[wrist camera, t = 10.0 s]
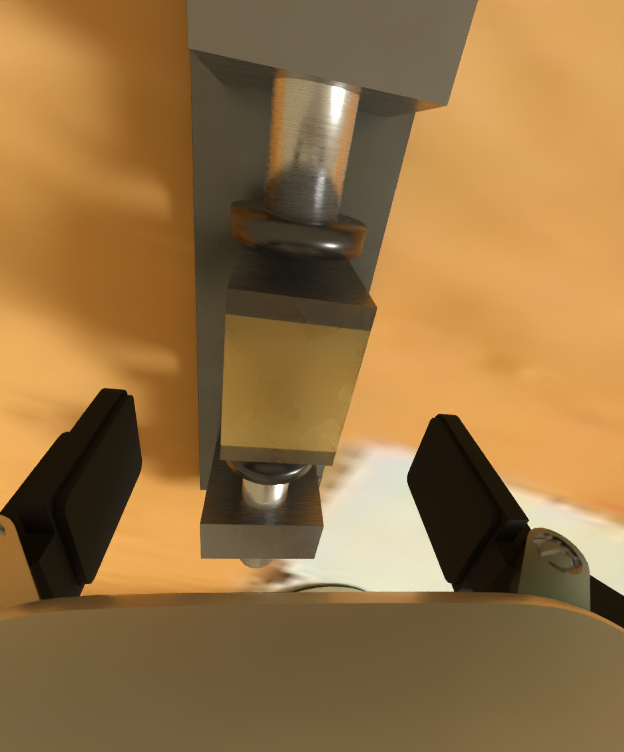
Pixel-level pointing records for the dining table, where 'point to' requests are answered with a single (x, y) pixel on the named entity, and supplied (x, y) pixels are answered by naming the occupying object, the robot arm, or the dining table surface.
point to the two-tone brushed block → (290, 356)
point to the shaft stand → (296, 194)
